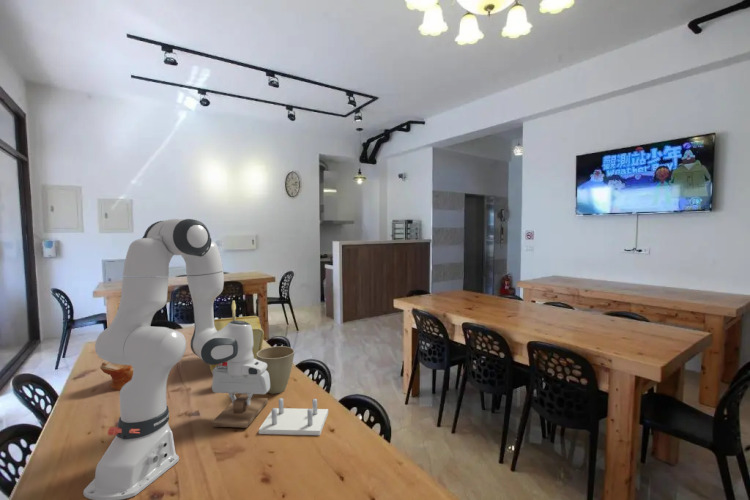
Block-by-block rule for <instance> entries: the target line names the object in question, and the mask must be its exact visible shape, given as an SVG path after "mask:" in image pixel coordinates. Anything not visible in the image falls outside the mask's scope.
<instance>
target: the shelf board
mask: <svg viewBox="0 0 750 500" xmlns="http://www.w3.org/2000/svg"><path fill="white" fill-rule="evenodd" d="M236 398H237V399H236V400H235V401H234V402H233V405H232V402H230V404H229V405H228V406H227V407H225V408H224V410H222V411H221V413H219V414H218V415H217V416H216V417H215V418H214V419H213V420H212V422H211V426H212V427H224V428H245V429H246V428H249V426H250V425H251V424H252V422H253V421H254V420H255V418H256V417H257V416H258V415H259V414H260V413H261V411H262V410H263V408H265V406H266V405H267V404H268V402H269V398H268V397H252V398H251V399H250V405H249V406H246V405H244V404H245V403H244V401H245V400H246V399H248V396H247V394H240V395H239V396H237V397H236Z"/></svg>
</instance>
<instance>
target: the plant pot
mask: <svg viewBox="0 0 750 500" xmlns="http://www.w3.org/2000/svg"><path fill="white" fill-rule="evenodd" d="M294 355H295V349H293V348H292V347H290V346H283V345H282V346H279V345H278V346H270V347H267V348H262V350H260V351H258V352H257V360H259V361H262V362H265V363H267V369H266V371H268V373H269V377H270V389H269V391H268V392H267V393H268V394H271V395H272V394H274V395H276V394H280V393H283V392H285V390H286V389H287V385H288V382H289V379H290V376H291V372H292V367H293V362H294V357H295V356H294Z"/></svg>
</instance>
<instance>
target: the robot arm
mask: <svg viewBox="0 0 750 500" xmlns="http://www.w3.org/2000/svg"><path fill="white" fill-rule="evenodd" d="M174 256H181V257H182V259H183V260H184V262H185V271H186V280H187V285H188V289H189V293H190V296H191V297H190V298H191V301H192V308H193V321H194V323H193V324H194V329H193V333H192V336H191V339H190V349H191V352H192V353H194V355H195V356H197V357H198V358H199V359H201V360H202V361H203V362H204V363H205V364H207V365H209V364H210V365H217V364H220V363H223V362H226V361H227V366H216V367H215V368H214V369H213V373H212V380H211V381H212V383H211V390H212V392H213V393H217V394H228V397H229V398H230V400H231V403H232V405H233V402H234V401H235V400H236V399H237V397H236V395H235V394H240V395H241V394H246V395H247V396H248V399H246V400H245V401H244V403H245V404H244V405H246V406H249V405H250V399H251V398H253V395H266V394H267V393H268V391H269V389H270V377H269V373H268V371H266V369H267V363H265V362H262V361H259V360H257V359H254V355H253V351H252V349H253V331H252V327H251V325H250V324H249V323H247V322H245V321H231V322H229V323H228V324H227V325H226V326H225V327H224V328H222V329H221V330H219V331H217V330H216V328H215V326H214V319H215V317H214V314H215V313H214V303H215V300H216V298H217V297H218V296H220V295H221V293H222V292H223V290H224V284H225V275H224V274H225V273H224V267H223V260H222V257H221V252H220V249H219V247H218V244H217V243H216V242H215V241H213V240H212V238H211V233H210V232H209V229H208V228H207V226H206V225H205V224H204V223H203V222H201V221H199V220H197V219H193V218H186V219H182V218H181V219H179V218H171V219H166V220H160V221H159V220H158V221H155V222H154V223H152V224H151V225H149V226H148V227H147V228H146V230H145V232H144V234H143V236H142V237H141V238H138V239H136V240H134V241H132V242H131V243H130V244H129V246H128V249H127V252H126V255H125V261H124V266H123V272H122V273H123V274H122V281H121V283H122V285H121V292H120V301H119V306H118V308H117V311H116V314H115V316H114V318H113V320H112V321H111V323H110V325H109V326H108V327H107V328H104V330H103V331H101V332H100V333H99V335H98V336H97V338H96V340H95V344H94V345H95V346H94V350H95V353H96V355H97V356H98V357H99V359H101V360H104V361H108V362H111V363H114V364H121V365H131V366H132V367H133V376H132V379H131V380H130V381H129V382H127V383H126V384H125V385H124V386H123V387H122V389H121V390H119V411H120V413H119V414H120V417H119V418H118V423H117V424H116V425H117V426H110V427H109V428H108V430H107V435H108V436H115V437H114V438H113V440H112V442H111V443H110V445H109V446H108V447H107V449H106V451H105V452H104V453H103V455H102V457H101V458H100V460H99V461H98V463H97V465H96V467H95V474H94V475H95V476H94V478H93V479H92V481H91V482H90V483H88V485H87V486H86V487H85V488H84V489H83V491H82V492H83V493H82V494H83V497H85V498H86V499H89V500H126V499H130V498H132V497H135V496H137V495H138V494H139V493H141V492H142V491H143V490H145V489H146V488H147V487H149V485H151V484H152V483H153V482H155V481H156V480H157V479H158V478H160V477H161V476H162V475H163V474H164V473H166V472H167V471H168V470H169V469H170V468H172V467H173V466H175V465H176V464H177V463H179V461H180V457H179V455H178V454H177V453H176V448H175V441H174V434H173V431H172V429H171V427H170V424H169V420H170V411H169V406H168V405H167V384H168V378H169V376H170V375H169V374H170V372H171V370H172V368H174V366H175V365H177V364H178V363H180V361H181V360H182V359H183V357H184V355H185V352H186V348H187V341H186V337H185V335H184V334H183V333H182V332H180V331H178V330H176V329H173V328H169V327H166V326H151V324H152V322H153V318H154V316H155V314H156V313H157V312H158V311H160V310H162V309H163V308H164V307H165V306H166V304H167V301H168V290H169V288H168V287H169V273H170V272H169V271H170V262H171V260H172V258H173V257H174Z"/></svg>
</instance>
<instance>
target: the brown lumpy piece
mask: <svg viewBox="0 0 750 500" xmlns="http://www.w3.org/2000/svg"><path fill="white" fill-rule="evenodd" d="M100 370H101V371H102V372H103V373H104V374H106V375H110V377H111V381H110V384H109V385H110V386H109V387H110V388H112V389H113V390H117V391H120V390H121V389H122V387H123V386H124V385H125V384H126V383H127V382H129V381H130V380H131V379H132V376H133V367H132V366H131V365H121V364H114V363H111V362H108V361H106V360H104V361H103V362H101V365H100Z"/></svg>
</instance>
